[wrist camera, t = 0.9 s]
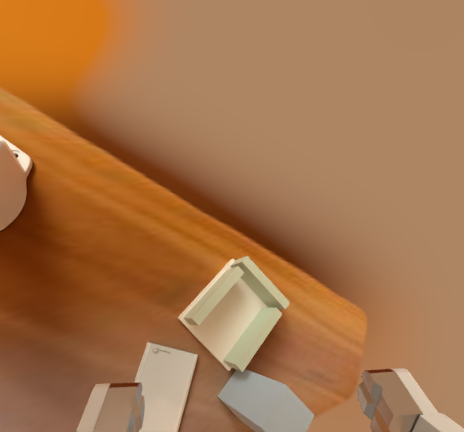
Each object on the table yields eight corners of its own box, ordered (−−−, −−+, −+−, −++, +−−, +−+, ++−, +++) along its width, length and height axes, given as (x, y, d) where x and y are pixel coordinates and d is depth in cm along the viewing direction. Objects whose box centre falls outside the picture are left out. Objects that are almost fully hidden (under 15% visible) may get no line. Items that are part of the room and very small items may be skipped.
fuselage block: (217, 396, 45) (260, 427, 32) (238, 366, 47) (285, 384, 35) (240, 420, 45) (292, 460, 33) (260, 389, 48) (314, 415, 36)
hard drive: (148, 342, 42) (115, 443, 37) (199, 354, 44) (174, 451, 39) (147, 341, 43) (114, 438, 38) (196, 353, 46) (171, 446, 41)
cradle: (177, 318, 46) (187, 318, 40) (230, 259, 53) (245, 253, 47) (226, 370, 46) (242, 377, 41) (273, 305, 53) (292, 304, 48)
